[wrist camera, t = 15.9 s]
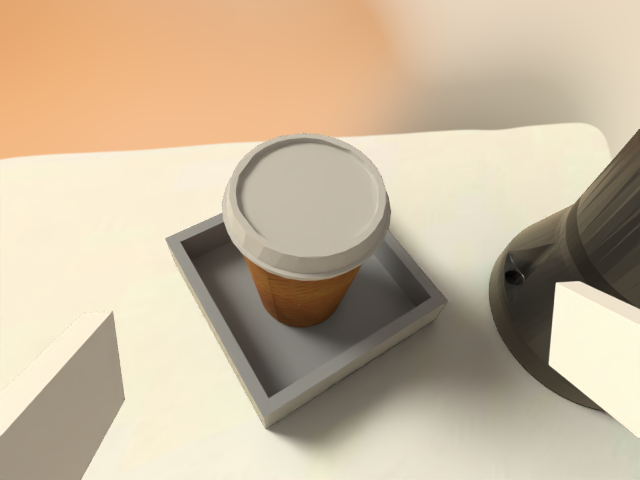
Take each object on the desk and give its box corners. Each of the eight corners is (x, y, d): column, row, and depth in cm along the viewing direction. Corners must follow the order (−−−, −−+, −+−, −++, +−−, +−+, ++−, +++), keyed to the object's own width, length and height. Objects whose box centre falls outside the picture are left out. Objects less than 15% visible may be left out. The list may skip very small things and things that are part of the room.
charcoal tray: (328, 190, 41) (332, 163, 38) (434, 320, 35) (447, 300, 32) (174, 262, 36) (165, 238, 33) (265, 429, 30) (263, 417, 27)
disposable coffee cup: (227, 343, 32) (203, 256, 22) (247, 231, 38) (235, 120, 28) (362, 355, 33) (397, 274, 23) (363, 242, 38) (393, 135, 28)
